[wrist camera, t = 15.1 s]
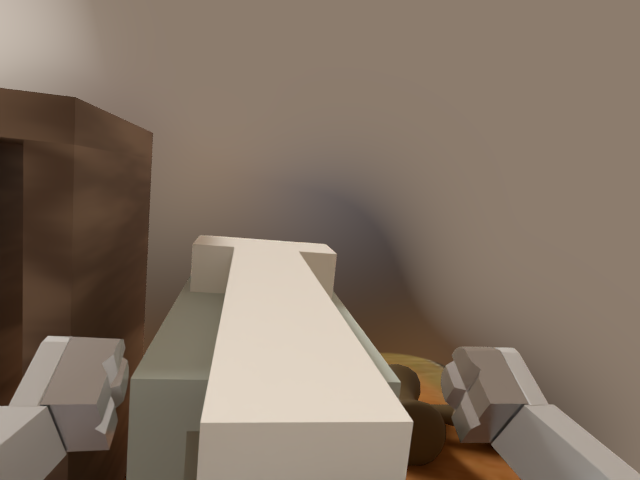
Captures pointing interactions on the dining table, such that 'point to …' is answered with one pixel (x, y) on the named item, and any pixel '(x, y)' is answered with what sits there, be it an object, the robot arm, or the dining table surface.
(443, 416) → the kendama
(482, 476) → the dining table surface
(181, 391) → the pale green rectangular block
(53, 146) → the tall stand
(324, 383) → the T-piece
